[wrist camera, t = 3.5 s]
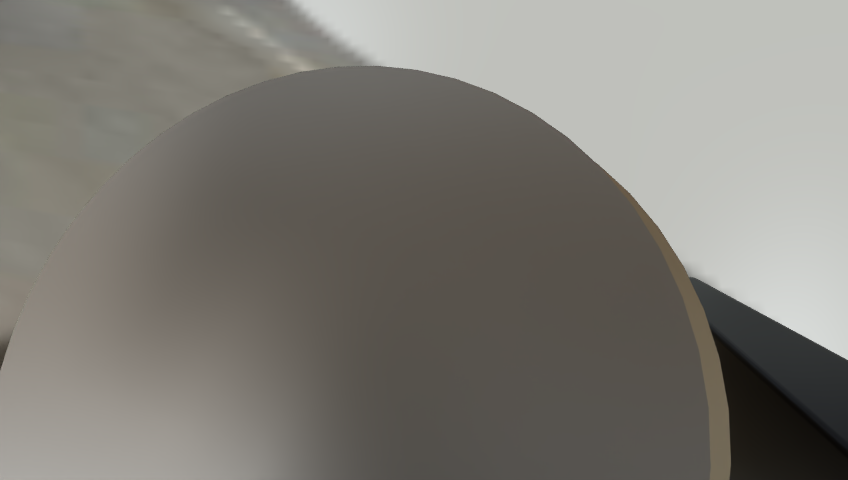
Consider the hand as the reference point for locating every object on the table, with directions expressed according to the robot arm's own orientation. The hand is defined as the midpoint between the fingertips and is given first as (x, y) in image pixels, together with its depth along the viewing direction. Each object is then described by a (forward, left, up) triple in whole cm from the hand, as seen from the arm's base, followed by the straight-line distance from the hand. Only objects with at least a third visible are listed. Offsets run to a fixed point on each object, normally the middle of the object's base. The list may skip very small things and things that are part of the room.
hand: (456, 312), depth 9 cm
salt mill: (-1, 0, -7) cm, 7 cm away
